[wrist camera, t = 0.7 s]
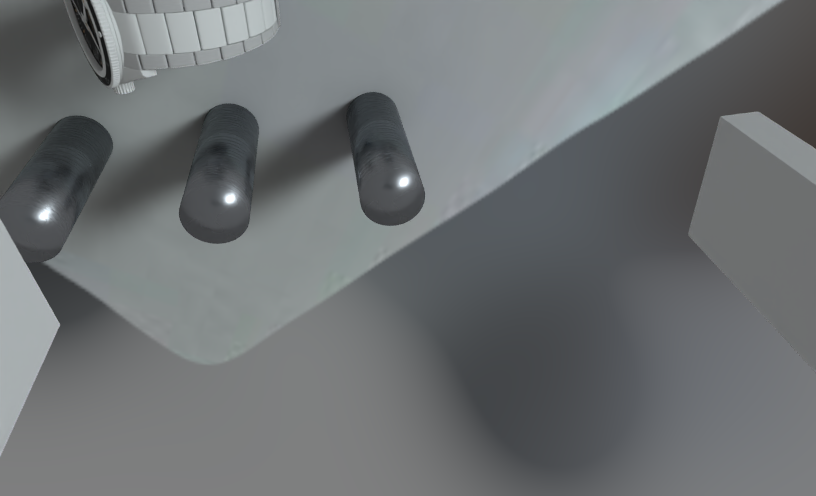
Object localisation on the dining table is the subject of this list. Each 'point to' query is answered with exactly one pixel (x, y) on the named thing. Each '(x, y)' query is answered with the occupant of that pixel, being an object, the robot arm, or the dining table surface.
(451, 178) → the dining table surface
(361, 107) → the post field
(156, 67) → the watch
